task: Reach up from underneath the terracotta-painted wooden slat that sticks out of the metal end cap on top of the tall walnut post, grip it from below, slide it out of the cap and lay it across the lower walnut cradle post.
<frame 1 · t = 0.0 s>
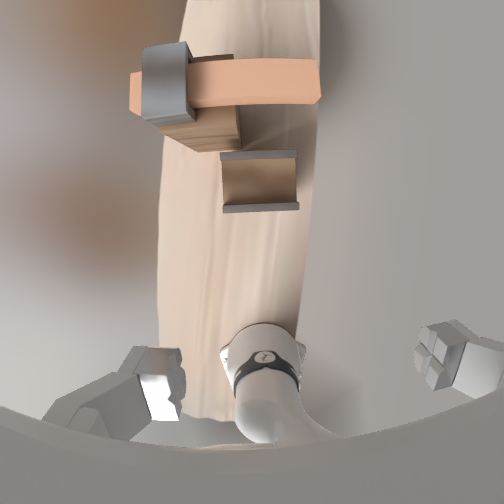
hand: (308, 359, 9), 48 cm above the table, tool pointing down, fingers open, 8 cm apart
tall post: (218, 130, 52), on the table
cradle post: (256, 180, 54), on the table
slat: (224, 87, 27), point 26 cm above the table, touching tall post
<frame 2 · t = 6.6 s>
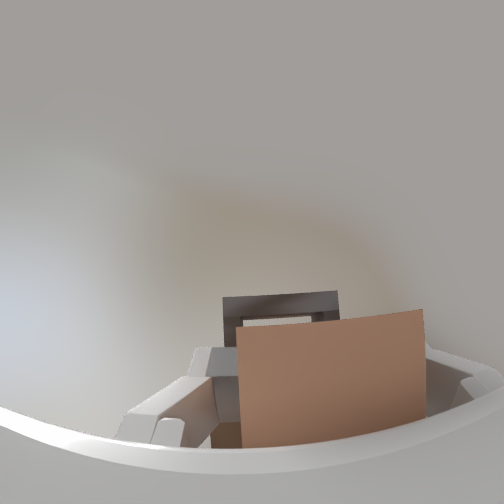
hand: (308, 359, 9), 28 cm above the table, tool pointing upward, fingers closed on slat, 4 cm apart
slat: (291, 388, 13), point 26 cm above the table, touching gripper, tall post
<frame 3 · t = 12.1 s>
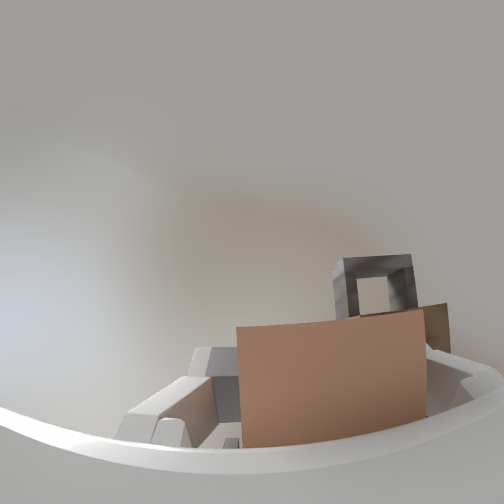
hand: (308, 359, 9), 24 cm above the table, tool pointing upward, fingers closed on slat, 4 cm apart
slat: (291, 388, 13), point 22 cm above the table, touching gripper
when the fingers open (18 cm above the table, at t = 13.8 s): slat drops 2 cm, resting on cradle post.
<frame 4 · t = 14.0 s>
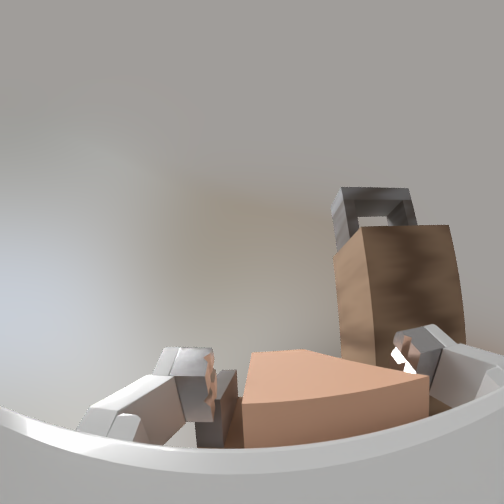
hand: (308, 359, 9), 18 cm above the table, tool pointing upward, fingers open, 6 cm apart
slat: (293, 417, 13), point 15 cm above the table, touching cradle post
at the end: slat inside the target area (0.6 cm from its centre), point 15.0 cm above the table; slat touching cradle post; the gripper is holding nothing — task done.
